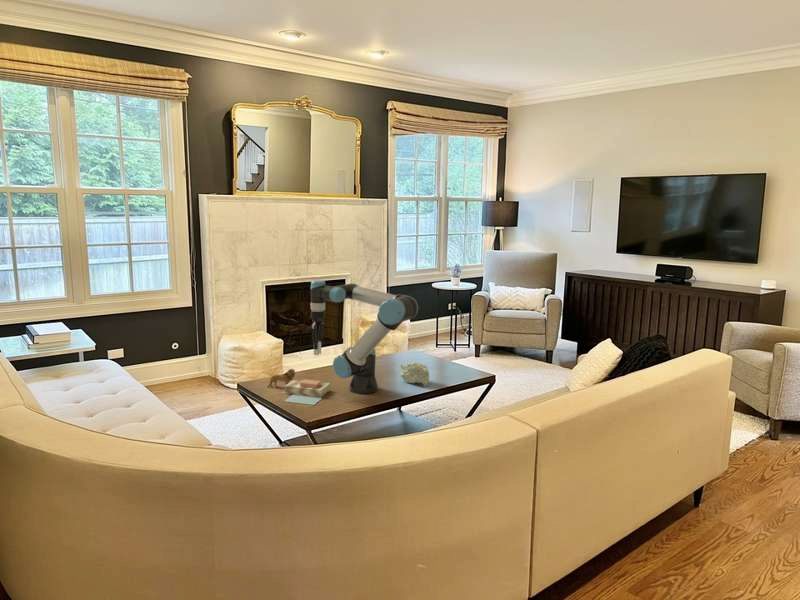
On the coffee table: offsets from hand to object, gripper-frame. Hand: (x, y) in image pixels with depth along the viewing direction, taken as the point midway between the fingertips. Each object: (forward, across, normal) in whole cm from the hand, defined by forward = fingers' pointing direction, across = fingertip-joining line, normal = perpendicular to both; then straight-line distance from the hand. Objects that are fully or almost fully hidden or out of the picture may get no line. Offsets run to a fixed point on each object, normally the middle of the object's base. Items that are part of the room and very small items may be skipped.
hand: (317, 354), depth 306 cm
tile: (+14, +9, 0) cm, 17 cm away
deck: (+18, +8, -2) cm, 20 cm away
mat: (+18, +20, +1) cm, 27 cm away
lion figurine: (+19, +3, -19) cm, 27 cm away
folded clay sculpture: (+19, -26, +47) cm, 57 cm away
